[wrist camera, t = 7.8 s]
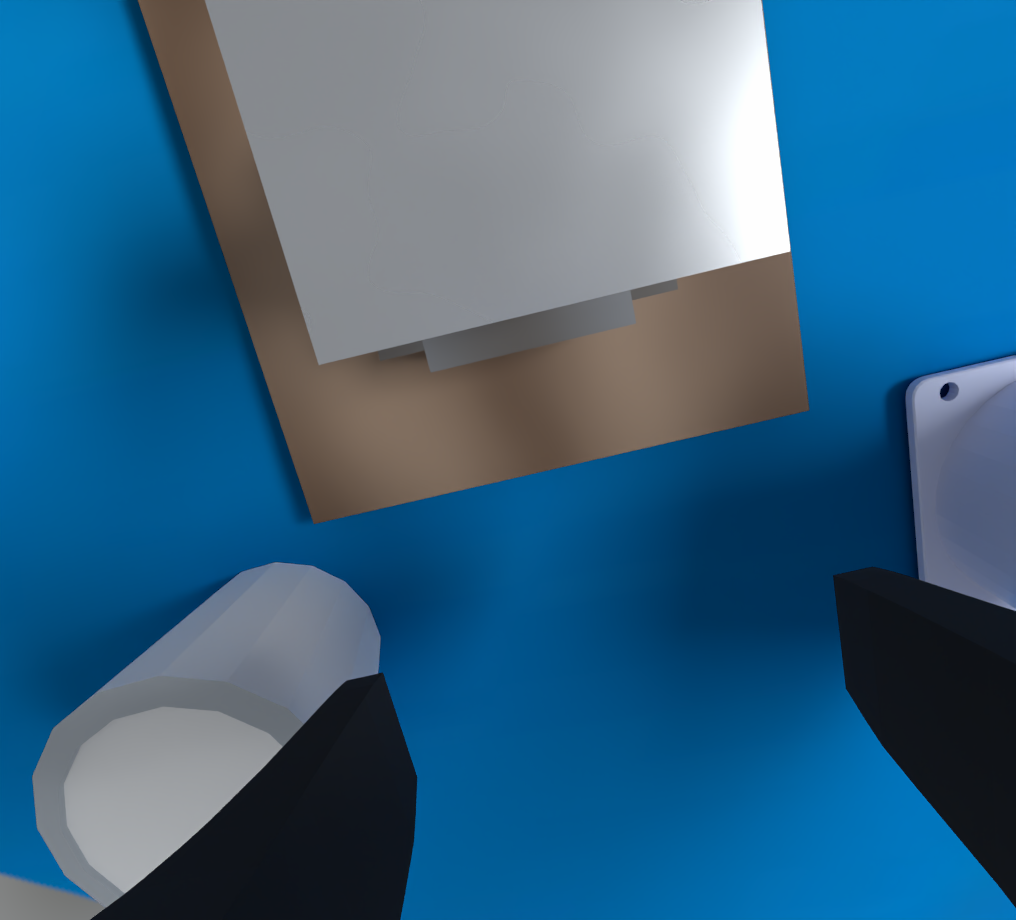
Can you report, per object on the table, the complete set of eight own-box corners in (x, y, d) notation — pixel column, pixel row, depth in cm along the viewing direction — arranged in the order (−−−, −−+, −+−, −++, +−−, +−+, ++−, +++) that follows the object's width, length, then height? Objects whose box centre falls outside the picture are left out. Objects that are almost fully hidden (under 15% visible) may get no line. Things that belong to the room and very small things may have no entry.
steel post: (582, 35, 12) (729, -392, 4) (623, 268, 13) (800, 259, 5) (360, 93, 12) (124, -216, 5) (420, 317, 13) (313, 377, 6)
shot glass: (327, 504, 20) (238, 624, 13) (440, 684, 21) (413, 872, 15) (136, 603, 20) (-43, 764, 14) (259, 768, 22) (154, 985, 15)
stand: (702, -345, 15) (1022, -1318, 6) (793, 403, 19) (1050, 515, 10) (97, -170, 15) (-465, -792, 6) (322, 511, 20) (178, 705, 11)
